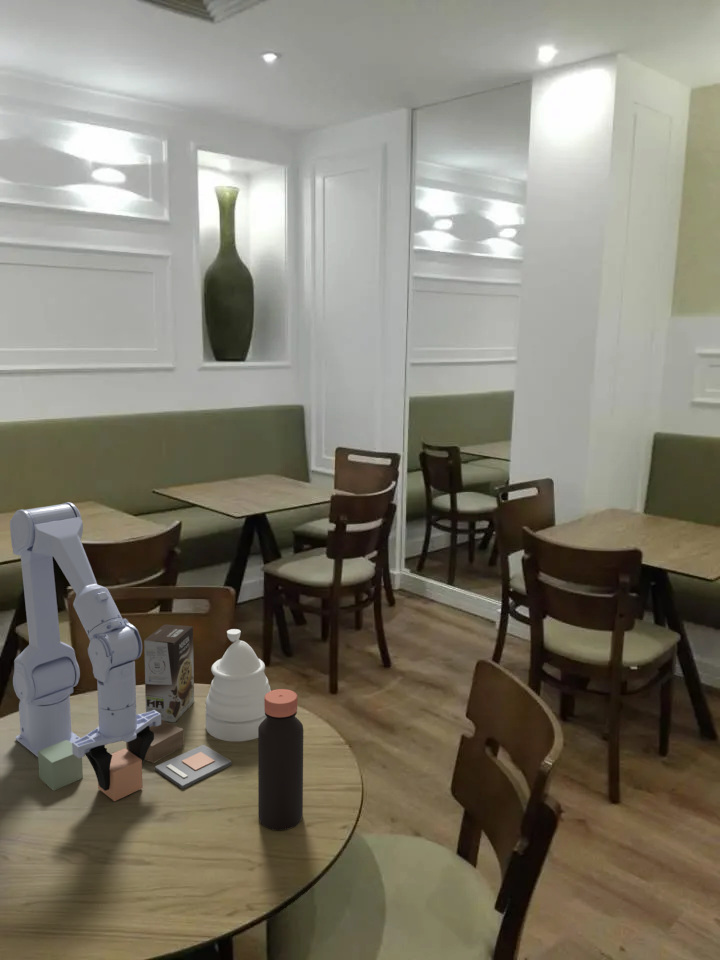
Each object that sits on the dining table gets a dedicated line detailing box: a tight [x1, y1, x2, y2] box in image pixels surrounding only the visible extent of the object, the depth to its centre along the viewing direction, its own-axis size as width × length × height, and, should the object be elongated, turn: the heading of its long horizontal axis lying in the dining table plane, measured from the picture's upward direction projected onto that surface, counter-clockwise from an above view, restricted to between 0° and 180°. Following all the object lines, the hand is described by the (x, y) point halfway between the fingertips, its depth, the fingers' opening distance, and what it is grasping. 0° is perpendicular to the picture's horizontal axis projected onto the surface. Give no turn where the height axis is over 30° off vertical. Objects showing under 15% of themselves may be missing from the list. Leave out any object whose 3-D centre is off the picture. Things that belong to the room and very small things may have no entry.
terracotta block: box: [97, 747, 144, 802], centre depth 120 cm, size 5×5×5 cm
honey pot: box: [204, 628, 272, 742], centre depth 141 cm, size 13×13×18 cm
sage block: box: [37, 740, 84, 791], centre depth 123 cm, size 5×5×5 cm
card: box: [154, 743, 232, 790], centre depth 128 cm, size 8×10×1 cm
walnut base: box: [125, 720, 185, 764], centre depth 133 cm, size 7×7×4 cm
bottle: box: [257, 688, 304, 831], centre depth 113 cm, size 7×7×20 cm
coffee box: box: [143, 623, 195, 723], centre depth 146 cm, size 9×6×16 cm
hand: (120, 780), depth 121 cm, fingers closed on terracotta block, 5 cm apart
